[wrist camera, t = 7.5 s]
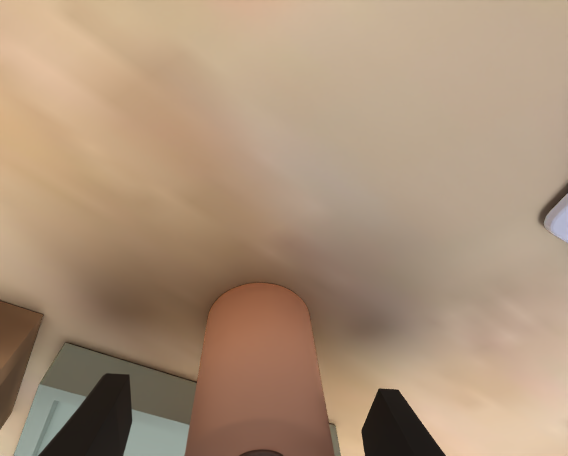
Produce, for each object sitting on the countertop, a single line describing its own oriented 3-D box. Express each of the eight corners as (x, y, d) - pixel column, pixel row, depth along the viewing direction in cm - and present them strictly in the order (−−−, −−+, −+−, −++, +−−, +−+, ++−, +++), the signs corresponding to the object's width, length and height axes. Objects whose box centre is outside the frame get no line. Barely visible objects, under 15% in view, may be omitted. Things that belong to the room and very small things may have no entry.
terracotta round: (328, 302, 13) (363, 442, 9) (282, 368, 15) (293, 515, 10) (230, 268, 12) (216, 407, 8) (193, 343, 14) (162, 494, 9)
